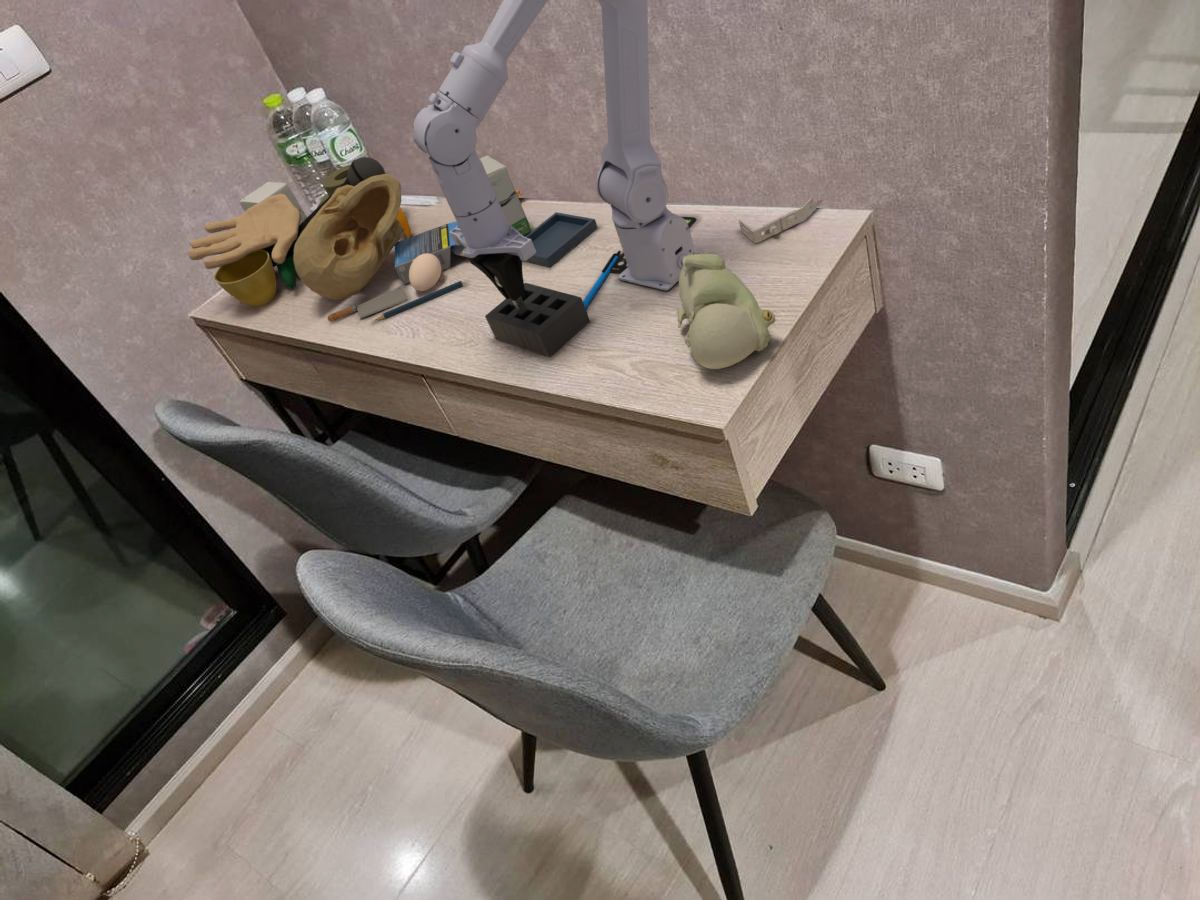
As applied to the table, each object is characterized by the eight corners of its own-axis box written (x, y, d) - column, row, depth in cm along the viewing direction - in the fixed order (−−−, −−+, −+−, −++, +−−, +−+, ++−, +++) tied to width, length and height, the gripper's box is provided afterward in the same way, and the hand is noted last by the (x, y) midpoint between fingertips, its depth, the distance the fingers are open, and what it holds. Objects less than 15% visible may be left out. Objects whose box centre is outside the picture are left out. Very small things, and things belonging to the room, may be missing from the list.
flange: (396, 158, 151) (358, 150, 161) (328, 201, 146) (292, 191, 156) (408, 181, 154) (369, 172, 164) (341, 225, 149) (306, 213, 159)
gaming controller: (334, 269, 158) (315, 245, 159) (332, 260, 155) (312, 235, 155) (292, 296, 156) (272, 271, 156) (288, 287, 152) (268, 261, 152)
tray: (597, 227, 134) (594, 218, 133) (550, 267, 130) (546, 258, 129) (559, 220, 140) (555, 212, 139) (512, 258, 136) (508, 249, 135)
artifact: (453, 242, 147) (455, 269, 139) (446, 228, 145) (448, 255, 138) (490, 227, 146) (494, 253, 139) (483, 213, 145) (487, 239, 137)
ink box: (533, 231, 140) (506, 164, 132) (507, 245, 139) (479, 179, 131) (513, 216, 146) (486, 152, 139) (488, 230, 145) (460, 166, 138)
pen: (623, 254, 126) (620, 247, 125) (570, 334, 115) (567, 328, 114) (617, 254, 127) (615, 247, 126) (564, 334, 115) (562, 328, 115)
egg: (427, 242, 135) (410, 274, 132) (452, 260, 137) (436, 292, 134) (413, 252, 138) (397, 284, 136) (437, 270, 141) (422, 301, 138)
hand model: (278, 187, 157) (187, 250, 154) (265, 169, 153) (171, 233, 150) (325, 241, 149) (229, 309, 146) (312, 223, 145) (213, 292, 142)
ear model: (367, 143, 136) (326, 213, 151) (304, 214, 125) (266, 282, 140) (433, 195, 140) (386, 258, 155) (378, 269, 129) (332, 329, 144)
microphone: (307, 254, 151) (386, 181, 145) (281, 224, 149) (359, 149, 143) (322, 248, 157) (398, 178, 151) (296, 219, 156) (372, 147, 149)
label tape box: (403, 285, 140) (473, 262, 140) (393, 265, 138) (464, 241, 137) (403, 260, 147) (470, 238, 147) (393, 240, 144) (461, 217, 144)
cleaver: (409, 303, 137) (404, 289, 141) (406, 296, 136) (401, 282, 140) (332, 335, 136) (329, 320, 140) (328, 329, 135) (325, 314, 139)
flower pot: (258, 320, 149) (237, 286, 144) (225, 311, 154) (203, 278, 149) (299, 286, 154) (280, 253, 149) (265, 279, 159) (245, 246, 154)
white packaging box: (294, 262, 162) (257, 203, 154) (273, 258, 166) (236, 201, 158) (322, 241, 165) (287, 182, 157) (302, 237, 170) (267, 180, 162)
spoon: (538, 317, 116) (512, 256, 110) (521, 331, 115) (493, 271, 108) (535, 316, 117) (508, 256, 110) (517, 330, 115) (490, 270, 109)
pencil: (462, 285, 134) (374, 322, 134) (463, 286, 135) (376, 323, 135) (460, 280, 134) (372, 317, 134) (461, 281, 135) (374, 318, 135)
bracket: (833, 173, 120) (738, 220, 119) (855, 187, 115) (756, 235, 115) (835, 185, 121) (741, 231, 120) (857, 199, 116) (759, 247, 116)
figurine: (698, 326, 91) (790, 322, 92) (678, 236, 102) (760, 233, 103) (690, 393, 99) (775, 389, 100) (672, 303, 110) (748, 300, 110)
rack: (590, 321, 116) (581, 297, 113) (550, 357, 112) (539, 333, 110) (535, 305, 123) (525, 282, 121) (495, 338, 120) (484, 316, 117)
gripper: (417, 214, 107) (461, 302, 116) (488, 229, 97) (530, 324, 106) (457, 185, 110) (497, 273, 118) (529, 197, 100) (567, 291, 109)
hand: (515, 295), depth 113 cm, fingers closed on spoon, 1 cm apart
